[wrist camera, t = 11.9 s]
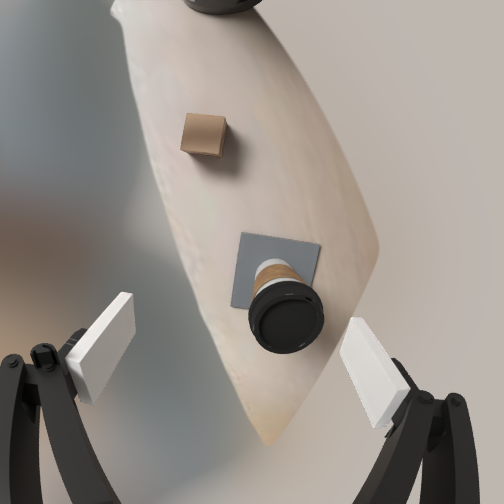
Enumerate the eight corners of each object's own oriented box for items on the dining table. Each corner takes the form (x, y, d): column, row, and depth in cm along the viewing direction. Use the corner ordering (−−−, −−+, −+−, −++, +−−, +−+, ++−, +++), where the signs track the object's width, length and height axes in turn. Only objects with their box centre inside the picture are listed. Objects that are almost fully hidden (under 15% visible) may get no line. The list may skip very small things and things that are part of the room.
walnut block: (193, 120, 36) (186, 113, 31) (227, 124, 36) (224, 116, 31) (187, 152, 37) (180, 149, 32) (221, 156, 37) (218, 153, 33)
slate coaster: (241, 231, 40) (241, 232, 40) (319, 243, 41) (320, 244, 41) (230, 304, 43) (230, 306, 43) (302, 313, 44) (303, 315, 44)
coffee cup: (311, 265, 41) (343, 309, 27) (283, 309, 43) (300, 368, 29) (263, 240, 40) (275, 276, 26) (237, 287, 42) (234, 342, 28)
